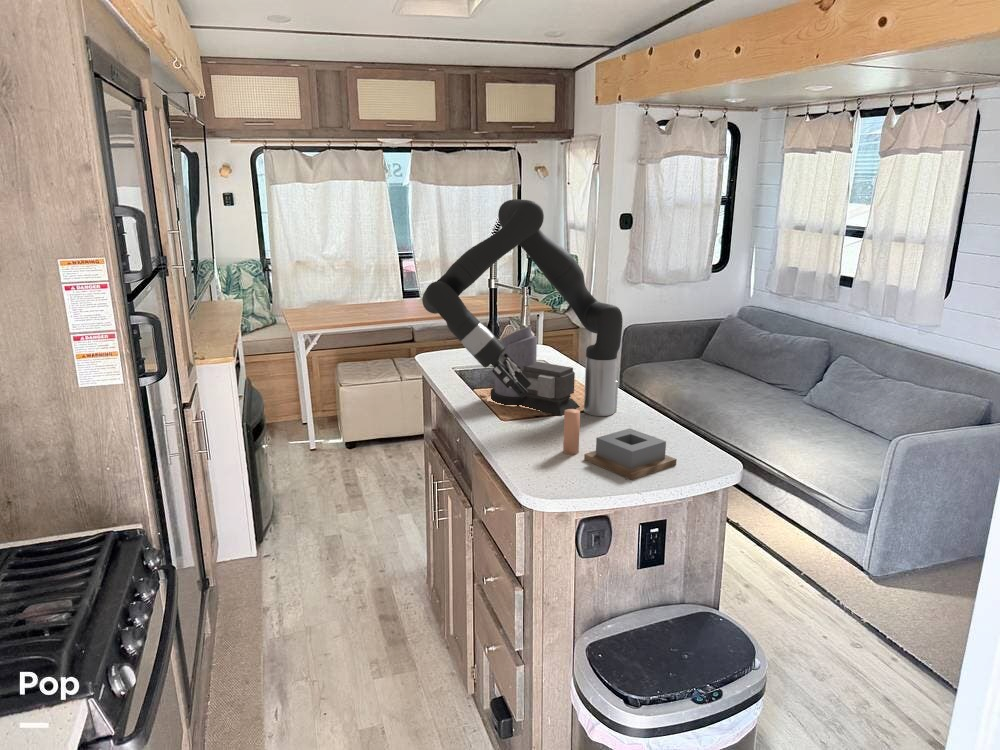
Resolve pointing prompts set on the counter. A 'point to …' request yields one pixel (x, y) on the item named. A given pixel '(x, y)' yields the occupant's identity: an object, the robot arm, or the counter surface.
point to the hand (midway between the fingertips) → (526, 390)
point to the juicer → (536, 378)
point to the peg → (571, 431)
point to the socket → (630, 448)
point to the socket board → (626, 471)
